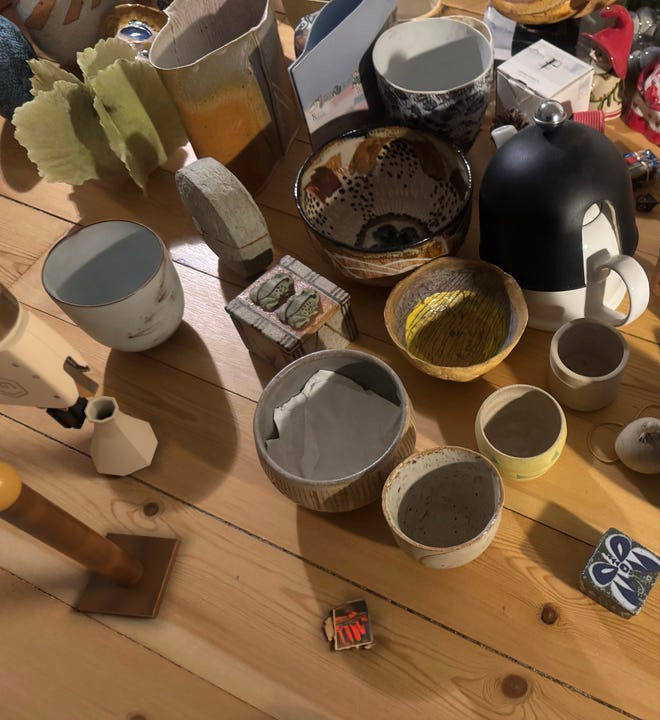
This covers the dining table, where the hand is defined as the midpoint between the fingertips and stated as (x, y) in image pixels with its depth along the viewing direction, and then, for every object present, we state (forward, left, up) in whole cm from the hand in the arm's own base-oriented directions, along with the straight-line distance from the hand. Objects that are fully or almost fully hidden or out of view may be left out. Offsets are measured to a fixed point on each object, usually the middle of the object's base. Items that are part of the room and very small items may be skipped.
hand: (79, 416), depth 76 cm
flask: (+1, 0, -8) cm, 8 cm away
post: (+7, -14, -8) cm, 18 cm away
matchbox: (+31, -17, -8) cm, 37 cm away
